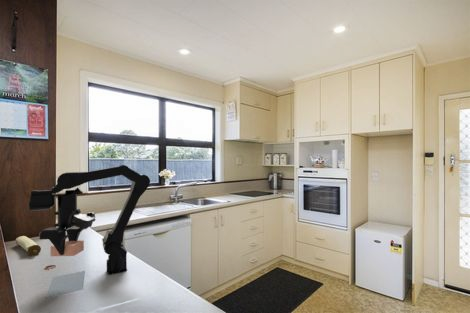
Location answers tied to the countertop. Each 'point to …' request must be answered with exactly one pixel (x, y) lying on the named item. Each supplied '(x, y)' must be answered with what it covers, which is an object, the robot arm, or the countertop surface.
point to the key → (50, 267)
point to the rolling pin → (28, 245)
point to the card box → (69, 248)
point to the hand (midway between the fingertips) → (67, 251)
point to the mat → (66, 284)
